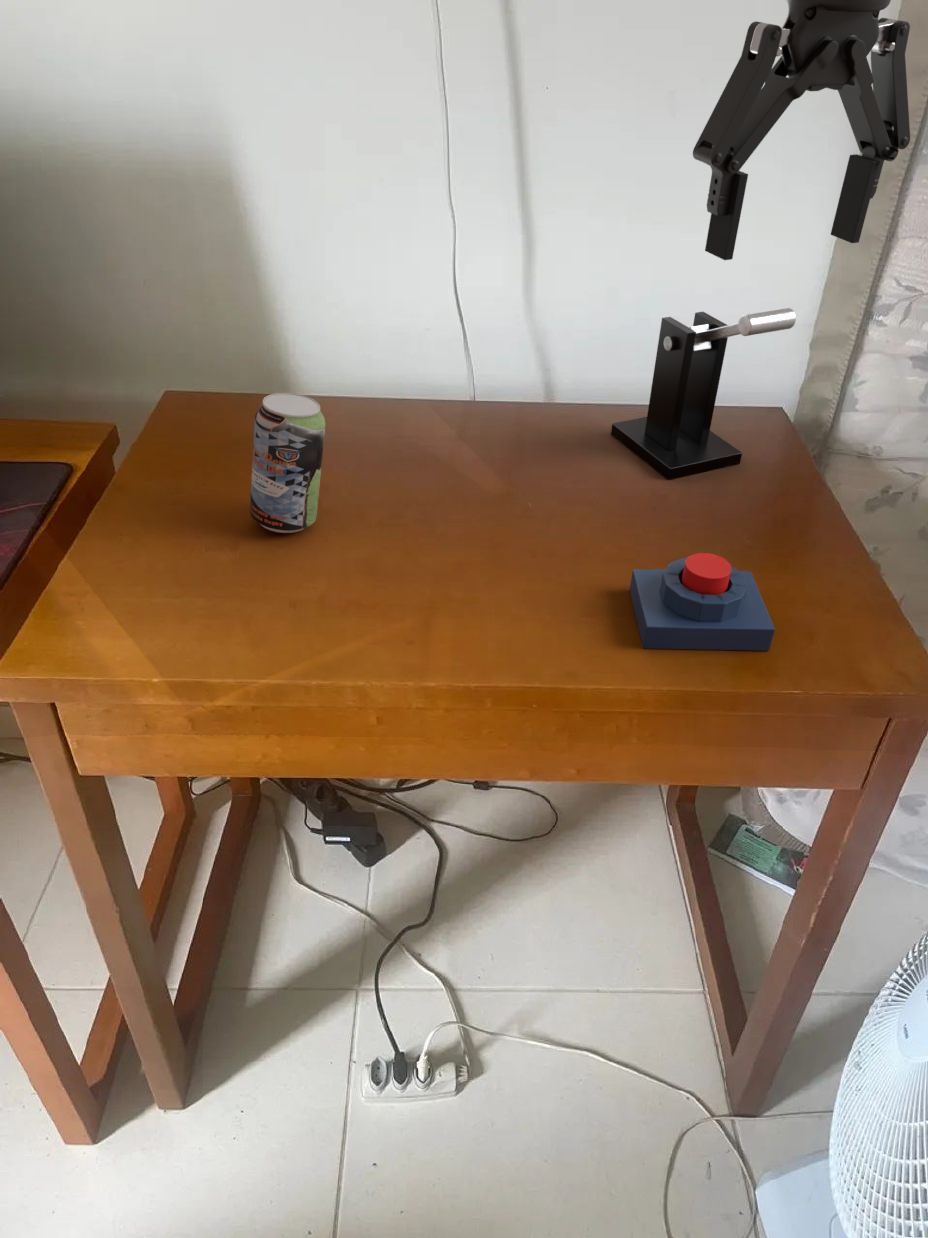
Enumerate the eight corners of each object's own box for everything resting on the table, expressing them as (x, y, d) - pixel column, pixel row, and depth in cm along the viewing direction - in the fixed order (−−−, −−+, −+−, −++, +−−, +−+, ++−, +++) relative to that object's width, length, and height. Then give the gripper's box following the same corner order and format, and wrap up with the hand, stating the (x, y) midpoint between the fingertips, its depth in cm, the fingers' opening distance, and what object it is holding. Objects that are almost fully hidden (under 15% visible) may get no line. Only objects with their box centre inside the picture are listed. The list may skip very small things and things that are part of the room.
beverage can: (240, 519, 91) (224, 398, 84) (309, 496, 95) (300, 379, 87) (272, 550, 87) (259, 425, 80) (343, 524, 91) (337, 404, 83)
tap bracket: (740, 463, 102) (768, 335, 94) (668, 480, 99) (691, 348, 91) (678, 420, 110) (700, 298, 102) (610, 434, 107) (626, 309, 99)
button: (722, 571, 80) (726, 553, 79) (731, 597, 77) (736, 578, 76) (677, 570, 80) (681, 552, 79) (686, 596, 77) (689, 577, 76)
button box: (746, 592, 84) (755, 553, 81) (769, 651, 77) (780, 610, 75) (629, 589, 84) (635, 550, 81) (643, 649, 77) (650, 608, 75)
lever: (797, 330, 88) (794, 302, 87) (752, 338, 86) (749, 309, 85) (706, 350, 100) (703, 326, 99) (665, 357, 98) (661, 332, 98)
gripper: (936, -60, 78) (863, 220, 90) (675, -62, 69) (635, 248, 82) (1014, -53, 72) (925, 243, 85) (742, -55, 63) (688, 276, 76)
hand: (783, 246), depth 83 cm, fingers open, 13 cm apart
